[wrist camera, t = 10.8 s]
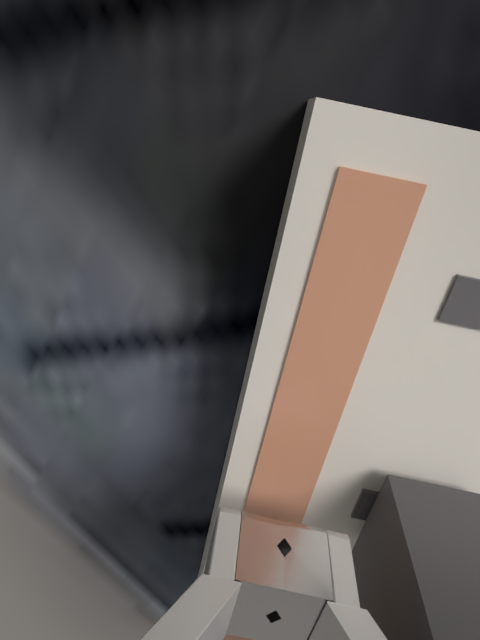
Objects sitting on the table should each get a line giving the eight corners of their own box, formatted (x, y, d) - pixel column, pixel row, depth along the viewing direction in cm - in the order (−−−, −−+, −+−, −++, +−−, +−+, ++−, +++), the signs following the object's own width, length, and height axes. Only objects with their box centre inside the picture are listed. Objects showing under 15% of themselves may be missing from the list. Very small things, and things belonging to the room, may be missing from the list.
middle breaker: (387, 474, 10) (447, 687, 7) (485, 495, 10) (601, 720, 7) (350, 553, 12) (381, 769, 8) (437, 572, 12) (510, 797, 8)
